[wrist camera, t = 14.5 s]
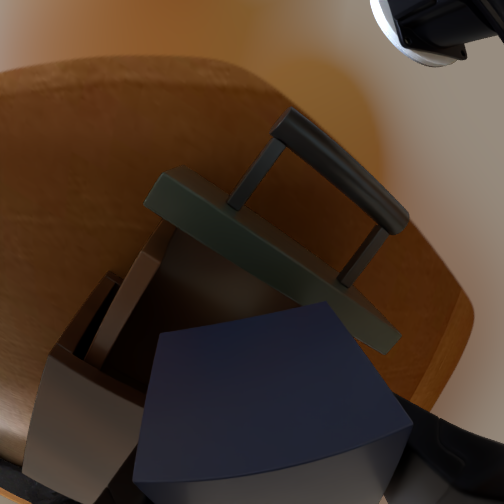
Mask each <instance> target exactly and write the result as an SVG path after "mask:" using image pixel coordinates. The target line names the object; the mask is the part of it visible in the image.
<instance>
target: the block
mask: <svg viewBox="0 0 504 504" xmlns="http://www.w3.org/2000/svg"><path fill="white" fill-rule="evenodd" d="M412 427H413V422H412V420H411V419H410V417H409V416H408V414H407V413H406V412H405V410H404V409H403V407H402V406H401V404H400V403H399V401H398V400H397V398H396V397H395V396H394V394H393V393H392V391H391V390H390V388H389V387H388V386H387V384H386V383H385V381H384V380H383V379H382V377H381V376H380V374H379V373H378V371H377V370H376V369H375V367H374V366H373V364H372V363H371V362H370V360H369V359H368V357H367V356H366V355H365V353H364V352H363V350H362V349H361V348H360V346H359V345H358V344H357V342H356V341H355V339H354V338H353V337H352V335H351V334H350V333H349V331H348V330H347V328H346V327H345V326H344V324H343V323H342V322H341V320H340V319H339V318H338V316H337V315H336V313H335V312H334V311H333V309H332V308H331V307H330V305H329V304H328V303H327V301H323V302H319V303H314V304H310V305H306V306H301V307H297V308H292V309H288V310H283V311H279V312H274V313H269V314H264V315H259V316H255V317H250V318H244V319H239V320H234V321H229V322H223V323H218V324H212V325H207V326H201V327H195V328H189V329H183V330H177V331H171V332H164V333H160V335H159V339H158V343H157V348H156V352H155V357H154V361H153V366H152V370H151V375H150V380H149V385H148V390H147V395H146V400H145V405H144V411H143V416H142V422H141V427H140V433H139V439H138V445H137V451H136V458H135V465H134V472H133V479H132V481H133V483H134V484H135V485H136V486H137V487H138V488H139V489H140V490H141V491H142V492H143V493H144V494H145V495H146V496H147V497H148V498H149V499H150V500H151V501H152V502H153V503H155V504H379V502H380V500H381V498H382V496H383V494H384V492H385V490H386V488H387V486H388V484H389V482H390V480H391V478H392V476H393V474H394V472H395V469H396V467H397V465H398V463H399V460H400V458H401V456H402V453H403V451H404V448H405V446H406V443H407V441H408V438H409V435H410V433H411V430H412Z"/></svg>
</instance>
